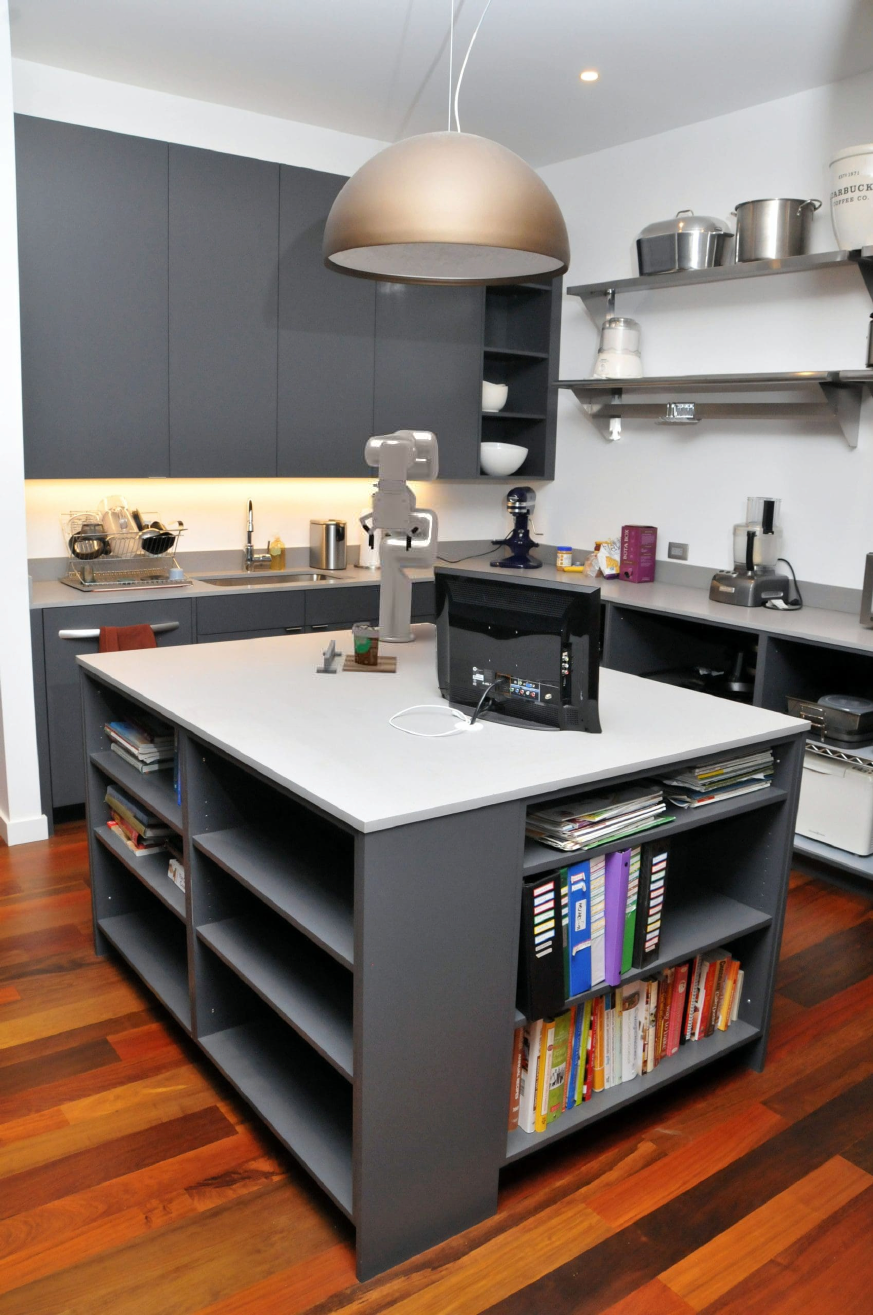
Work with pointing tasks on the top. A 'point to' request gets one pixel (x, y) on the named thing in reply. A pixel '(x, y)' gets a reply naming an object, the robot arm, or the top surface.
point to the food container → (365, 644)
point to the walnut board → (383, 665)
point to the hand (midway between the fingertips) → (389, 549)
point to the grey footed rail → (329, 659)
